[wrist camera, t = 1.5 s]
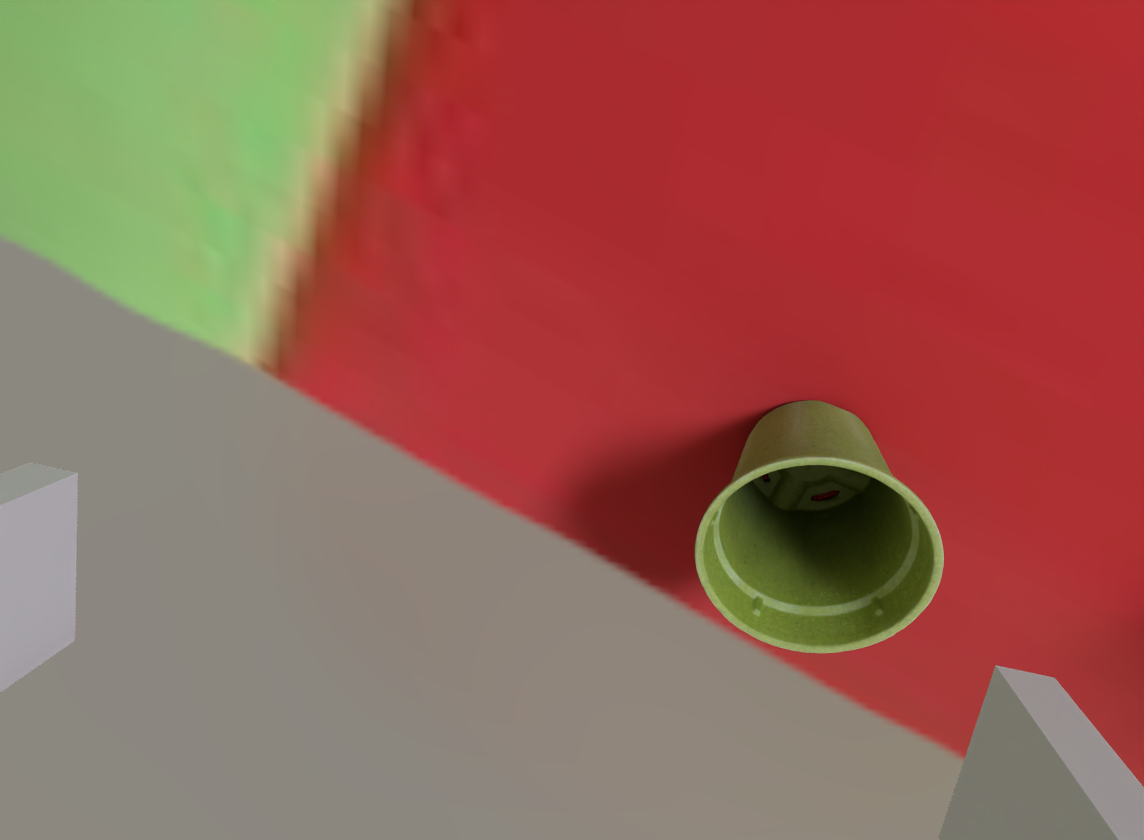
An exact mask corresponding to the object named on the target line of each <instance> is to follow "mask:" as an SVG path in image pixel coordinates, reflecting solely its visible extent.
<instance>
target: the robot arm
mask: <svg viewBox="0 0 1144 840" xmlns="http://www.w3.org/2000/svg"><path fill="white" fill-rule="evenodd" d="M77 495H78V472H72V471H68V470H63V469H59V468H54V467H49V466H44V465H39V464H35V463H30V462H29V463H27V464H24V465H21V466H18V467H16V468H13V469H10V470H8V471H5V472H2V473H0V692H2V691H3V690H5V689H6V688H8V687H9V686H10V685H12V684H13V683H14V682H16V681H17V680H19V679H20V678H22V677H23V676H25V675H26V674H27V673H29V672H30V671H32V670H33V669H35V668H36V667H38V666H39V665H40V664H42V663H43V662H45V661H46V660H48V659H49V658H51V657H52V656H53V655H55V654H56V653H58V652H59V651H61V650H62V649H63V648H65V647H66V646H68V645H69V644H71V643H72V642H73V641H75V609H76V608H75V607H76V552H77V551H76V550H77V549H76V548H77V497H78V496H77ZM939 839H940V840H1144V787H1143V786H1142V785H1141V783H1140V782H1139V781H1138V780H1137V779H1136V777H1135V776H1134V775H1133V774H1132V772H1131V771H1130V770H1129V769H1128V767H1127V766H1126V765H1125V764H1124V763H1123V761H1122V760H1121V759H1120V758H1119V756H1118V755H1117V754H1116V753H1115V751H1114V750H1113V749H1112V748H1111V747H1110V745H1109V744H1108V743H1107V742H1106V740H1105V739H1104V738H1103V737H1102V735H1101V734H1100V733H1099V732H1098V731H1097V729H1096V728H1095V727H1094V726H1093V724H1092V723H1091V722H1090V721H1089V719H1088V718H1087V717H1086V716H1085V715H1084V713H1083V712H1082V711H1081V710H1080V708H1079V707H1078V706H1077V705H1076V703H1075V702H1074V701H1073V700H1072V699H1071V697H1070V696H1069V695H1068V694H1067V692H1066V691H1065V690H1064V689H1063V687H1062V686H1061V685H1060V684H1059V683H1058V681H1057V680H1056V679H1055V678H1053V677H1048V676H1044V675H1039V674H1034V673H1029V672H1025V671H1020V670H1015V669H1010V668H1006V667H1001V666H995V669H994V672H993V675H992V678H991V681H990V684H989V687H988V690H987V693H986V696H985V699H984V702H983V705H982V708H981V711H980V714H979V717H978V720H977V723H976V726H975V729H974V732H973V735H972V738H971V741H970V744H969V747H968V750H967V753H966V757H965V760H964V763H963V766H962V769H961V772H960V775H959V778H958V781H957V784H956V787H955V790H954V793H953V796H952V799H951V802H950V805H949V808H948V811H947V814H946V817H945V820H944V823H943V826H942V829H941V832H940V835H939Z"/></svg>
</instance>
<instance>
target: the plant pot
mask: <svg viewBox="0 0 1144 840" xmlns="http://www.w3.org/2000/svg"><path fill="white" fill-rule="evenodd" d="M764 474H767V475H768V477H769V478H770V481H769V482H767V481H764V480H763V478H762V475H764ZM833 490H838V491H839V493H838V495H837V496H835V497H833V498H831V499H828V500H823V501H814V500H812V499H811V497H812V496H814V495H819V494H825V493H829V492H831V491H833ZM695 563H696V569H697V573H698V576H699V579H700V582H701V584H702V586H703V588H704V590H705V592H706V594H707V596H708V597H709V599H710V600H711V602H712V603H713V605H714V606H715V607H716V608H717V609H718V610H719V611H720V612H721V614H722V615H723V616H724V617H725V618H726V619H727V620H728V621H730V622H731V623H732V624H734V625H735V626H736V627H737V628H739V629H740V630H742V631H744V632H746V633H748V634H749V635H751V636H753V637H755V638H756V639H758V640H760V641H763V642H765V643H768V644H771V645H774V646H777V647H780V648H784V649H788V650H792V651H800V652H807V653H835V652H842V651H849V650H855V649H859V648H863V647H866V646H870V645H873V644H876V643H878V642H880V641H883V640H885V639H887V638H889V637H891V636H893V635H894V634H895V633H897V632H898V631H900V630H902V629H903V628H905V627H906V626H907V625H909V624H910V623H911V622H912V621H914V620H915V619H916V618H917V617H918V615H919V614H920V613H921V612H922V611H923V610H924V609H925V608H926V607H927V605H928V604H929V603H930V602H931V600H932V598H933V596H934V594H935V592H936V590H937V588H938V586H939V583H940V580H941V576H942V571H943V563H944V552H943V546H942V540H941V536H940V533H939V530H938V528H937V525H936V523H935V521H934V519H933V517H932V515H931V513H930V512H929V510H928V509H927V507H926V506H925V505H924V503H923V502H922V501H921V500H920V499H919V497H918V496H917V495H916V494H915V493H914V492H913V491H911V490H910V489H909V488H908V487H907V486H906V485H905V484H903V483H902V482H901V481H899V480H898V479H896V478H895V477H893V475H892V473H891V472H890V470H889V468H888V466H887V464H886V462H885V460H884V458H883V457H882V455H881V453H880V451H879V449H878V447H877V445H876V443H875V441H874V439H873V437H872V435H871V433H870V432H869V430H868V429H867V427H866V426H865V425H864V424H863V422H862V421H861V420H860V419H859V418H858V417H857V416H855V415H854V414H853V413H850V412H848V411H846V410H843V409H841V408H838V407H836V406H833V405H830V404H828V403H825V402H822V401H813V400H807V401H798V402H793V403H789V404H785V405H783V406H780V407H778V408H776V409H774V410H772V411H771V412H769V413H768V414H766V415H765V416H764V417H763V418H762V419H761V420H760V421H759V422H758V423H757V424H756V426H755V427H754V429H753V430H752V432H751V433H750V435H749V437H748V438H747V441H746V443H745V446H744V449H743V451H742V454H741V457H740V460H739V463H738V465H737V468H736V470H735V473H734V476H733V479H732V481H731V483H730V484H728V485H727V486H726V487H725V488H724V489H723V490H722V491H721V492H720V493H719V494H718V495H717V496H716V497H715V499H714V500H713V501H712V503H711V504H710V505H709V507H708V508H707V510H706V512H705V514H704V516H703V518H702V520H701V523H700V525H699V528H698V532H697V537H696V542H695Z"/></svg>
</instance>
